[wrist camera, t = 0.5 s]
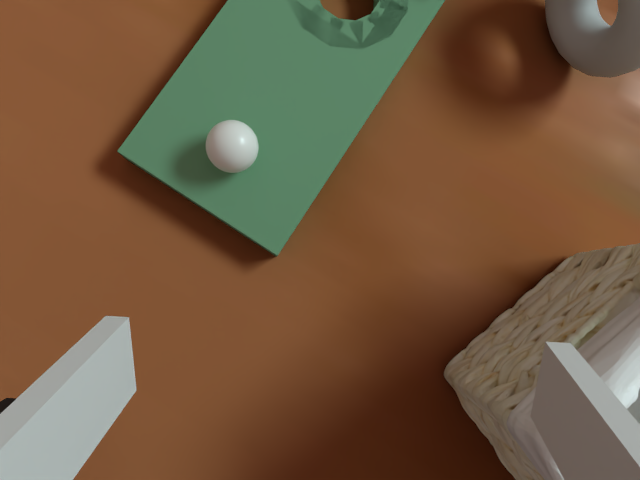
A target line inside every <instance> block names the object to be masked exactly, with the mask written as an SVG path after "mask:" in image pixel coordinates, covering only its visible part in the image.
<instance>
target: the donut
mask: <svg viewBox="0 0 640 480" xmlns="http://www.w3.org/2000/svg"><path fill="white" fill-rule="evenodd" d="M545 10H546V22H547V25H548V29H549V33H550V36H551V39H552V41H553V43H554V45H555V46H556V48H557V50H558V52H559V54H560V55H561V56H562V57H563V58H564V59H565V60H566V61H567V62H568V63H569V64H570V65H571V66H572V67H573V68H575V69H577V70H579V71H581V72H583V73H585V74H587V75H590V76H597V77H616V76H619V75H622V74H625V73H628V72H631V71H634V70H636V69H638V68H640V0H618V12H617V16H616V19H615V21H614V23H613V25H612V26H610V25H608V24H607V23H606V22H605V21H604V20H603V19H602V17H601V15H600V13H599V10H598V6H597V0H545Z"/></svg>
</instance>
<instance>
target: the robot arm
mask: <svg viewBox="0 0 640 480" xmlns="http://www.w3.org/2000/svg"><path fill="white" fill-rule="evenodd" d="M135 392H136V381H135V372H134V362H133V352H132V343H131V333H130V323H129V317H116V316H105V317H104V318H103V319H102V320H101V321H100V322H99V323H98V324H96V325H95V326H94V327H93V328H92V329H91V330H90V331H89V332H88V333H87V334H86V335H85V336H84V337H82V338H81V339H80V340H79V341H78V342H77V343H76V344H75V345H74V346H73V347H72V348H71V349H70V350H68V351H67V352H66V353H65V354H64V355H63V356H62V357H61V358H60V359H59V360H58V361H57V362H56V363H54V364H53V365H52V366H51V367H50V368H49V369H48V370H47V371H46V372H45V373H44V374H43V375H42V376H40V377H39V378H38V379H37V380H36V381H35V382H34V383H33V384H32V385H31V386H30V387H29V388H28V389H27V390H25V391H24V392H23V393H22V394H21V395H20V396H19V397H18V398H17V399H14V398H6V399H4V400H2V401H1V402H0V480H73V479H74V477H75V476H76V475H77V473H78V472H79V470H80V469H81V467H82V466H83V465H84V463H85V462H86V460H87V459H88V458H89V456H90V455H91V453H92V452H93V451H94V449H95V448H96V446H97V445H98V444H99V442H100V441H101V439H102V438H103V437H104V435H105V434H106V432H107V431H108V430H109V428H110V427H111V425H112V424H113V423H114V421H115V420H116V418H117V417H118V416H119V414H120V413H121V411H122V410H123V408H124V407H125V406H126V404H127V403H128V401H129V400H130V399H131V397H132V396H133V394H134V393H135ZM530 417H531V419H532V421H533V422H534V424H535V426H536V428H537V430H538V432H539V434H540V435H541V437H542V439H543V441H544V443H545V445H546V447H547V448H548V450H549V452H550V454H551V456H552V458H553V460H554V461H555V463H556V465H557V467H558V469H559V471H560V473H561V474H562V476H563V478H564V480H640V424H639V423H638V422H637V421H636V419H635V418H634V417H633V416H632V415H631V413H630V412H629V411H628V410H627V409H626V408H625V406H624V405H623V404H622V403H621V402H620V401H619V399H618V398H617V397H616V396H615V395H614V393H613V392H612V391H611V390H610V389H609V388H608V386H607V385H606V384H605V383H604V382H603V380H602V379H601V378H600V377H599V376H598V375H597V373H596V372H595V371H594V370H593V369H592V368H591V366H590V365H589V364H588V363H587V362H586V360H585V359H584V358H583V357H582V356H581V355H580V353H579V352H578V351H577V350H576V349H575V348H574V346H573V345H572V344H571V343H560V342H545V345H544V350H543V355H542V361H541V366H540V371H539V376H538V381H537V386H536V391H535V396H534V401H533V406H532V411H531V416H530Z"/></svg>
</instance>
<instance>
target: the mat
mask: <svg viewBox="0 0 640 480" xmlns="http://www.w3.org/2000/svg"><path fill="white" fill-rule="evenodd" d="M444 1H445V0H374V6H373V11H372V13H371V14H369V15H367V16H365V17H362V18H360V19H358V20H347V19H339V18H337V17H335V16H334V15H332V14H331V13H330V12H328V11H327V10H325V9H324V8H323V7H322V5H321V3H320V1H319V0H228V1H227V2H226V4H225V5H224V6H223V8H222V9H221V10H220V12H219V13H218V14H217V16H216V17H215V19H214V20H213V21H212V23H211V24H210V25H209V27H208V28H207V29H206V31H205V32H204V34H203V35H202V36H201V38H200V39H199V40H198V42H197V43H196V44H195V46H194V47H193V49H192V50H191V51H190V53H189V54H188V55H187V57H186V58H185V59H184V61H183V62H182V64H181V65H180V66H179V68H178V69H177V70H176V72H175V73H174V74H173V76H172V77H171V79H170V80H169V81H168V83H167V84H166V85H165V87H164V88H163V89H162V91H161V92H160V94H159V95H158V96H157V98H156V99H155V100H154V102H153V103H152V104H151V106H150V107H149V109H148V110H147V111H146V113H145V114H144V115H143V117H142V118H141V119H140V121H139V122H138V124H137V125H136V126H135V128H134V129H133V130H132V132H131V133H130V134H129V136H128V137H127V139H126V140H125V141H124V143H123V144H122V145H121V147H120V148H119V149H118V151H117V152H119V153H120V154H121V155H122V156H123V157H124V158H125V159H127V160H128V161H130V162H131V163H133V164H135V165H136V166H138V167H139V168H141V169H142V170H144V171H145V172H147V173H148V174H150V175H151V176H153V177H155V178H156V179H158V180H159V181H161V182H162V183H164V184H165V185H167V186H168V187H170V188H171V189H173V190H175V191H176V192H178V193H179V194H181V195H182V196H184V197H185V198H187V199H188V200H190V201H191V202H193V203H195V204H196V205H198V206H199V207H201V208H202V209H204V210H205V211H207V212H208V213H210V214H211V215H213V216H214V217H216V218H218V219H219V220H221V221H222V222H224V223H225V224H227V225H228V226H230V227H231V228H233V229H234V230H236V231H238V232H239V233H241V234H242V235H244V236H245V237H247V238H248V239H250V240H251V241H253V242H254V243H256V244H258V245H259V246H261V247H262V248H264V249H265V250H267V251H268V252H270V253H271V254H273V255H274V256H276V257H277V256H278V254H279V253H280V251H281V250H282V248H283V246H284V245H285V243H286V242H287V240H288V239H289V237H290V236H291V234H292V233H293V231H294V230H295V228H296V227H297V225H298V224H299V222H300V221H301V219H302V218H303V216H304V214H305V213H306V211H307V210H308V208H309V207H310V205H311V204H312V202H313V201H314V199H315V198H316V196H317V195H318V193H319V192H320V190H321V189H322V187H323V186H324V184H325V182H326V181H327V179H328V178H329V176H330V175H331V173H332V172H333V170H334V169H335V167H336V166H337V164H338V163H339V161H340V160H341V158H342V157H343V155H344V154H345V152H346V150H347V149H348V147H349V146H350V144H351V143H352V141H353V140H354V138H355V137H356V135H357V134H358V132H359V131H360V129H361V128H362V126H363V125H364V123H365V121H366V120H367V118H368V117H369V115H370V114H371V112H372V111H373V109H374V108H375V106H376V105H377V103H378V102H379V100H380V99H381V97H382V96H383V94H384V93H385V91H386V89H387V88H388V86H389V85H390V83H391V82H392V80H393V79H394V77H395V76H396V74H397V73H398V71H399V70H400V68H401V67H402V65H403V64H404V62H405V61H406V59H407V57H408V56H409V54H410V53H411V51H412V50H413V48H414V47H415V45H416V44H417V42H418V41H419V39H420V38H421V36H422V35H423V33H424V32H425V30H426V29H427V27H428V25H429V24H430V22H431V21H432V19H433V18H434V16H435V15H436V13H437V12H438V10H439V9H440V7H441V6H442V4H443V3H444ZM226 120H237V121H240V122H243V123H245V124H246V125H248V126H249V127H250V128H251V129H252V130H253V132H254V133H255V135H256V137H257V140H258V145H259V149H258V154H257V157H256V160H255V161H254V163H253V164H252V165H251V166H250V167H249V168H247V169H246V170H244V171H241V172H238V173H229V172H224V171H222V170H220V169H218V168H217V167H215V166H214V165H213V164H212V162H211V161H210V159H209V158H208V155H207V152H206V139H207V136H208V133H209V132H210V130H211V129H212V128H213V127H214V126H215V125H216V124H218V123H220V122H222V121H226Z"/></svg>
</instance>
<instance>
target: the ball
mask: <svg viewBox="0 0 640 480" xmlns="http://www.w3.org/2000/svg"><path fill="white" fill-rule="evenodd" d="M258 149H259V145H258V140H257V137H256V135H255V133H254V132H253V130H252V129H251V128H250V127H249V126H248V125H246V124H245V123H243V122H240V121H237V120H226V121H222V122H220V123H218V124H216V125H215V126H214V127H213V128H212V129H211V130H210V132H209V133H208V136H207V139H206V152H207V155H208V158H209V159H210V161H211V162H212V164H213V165H214V166H215V167H217V168H218V169H220V170H222V171H224V172H229V173H238V172H241V171H244V170H246V169H247V168H249V167H250V166H251V165H252V164H253V163H254V161H255V160H256V157H257V154H258Z"/></svg>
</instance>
